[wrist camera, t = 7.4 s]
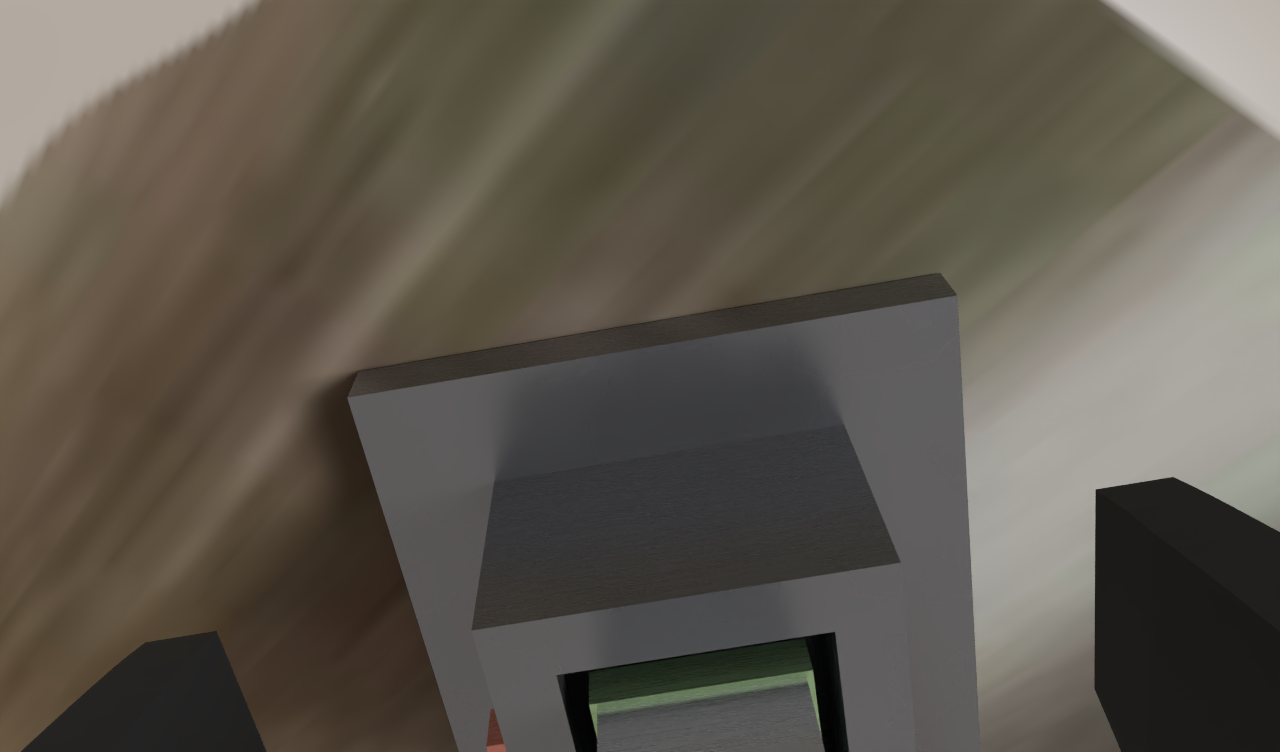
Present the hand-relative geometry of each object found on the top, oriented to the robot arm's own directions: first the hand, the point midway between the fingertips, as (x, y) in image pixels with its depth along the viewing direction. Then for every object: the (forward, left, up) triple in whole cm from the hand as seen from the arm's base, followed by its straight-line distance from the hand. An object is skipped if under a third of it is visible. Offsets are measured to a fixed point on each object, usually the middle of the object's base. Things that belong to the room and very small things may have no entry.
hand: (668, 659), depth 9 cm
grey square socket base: (0, +7, -10) cm, 12 cm away
